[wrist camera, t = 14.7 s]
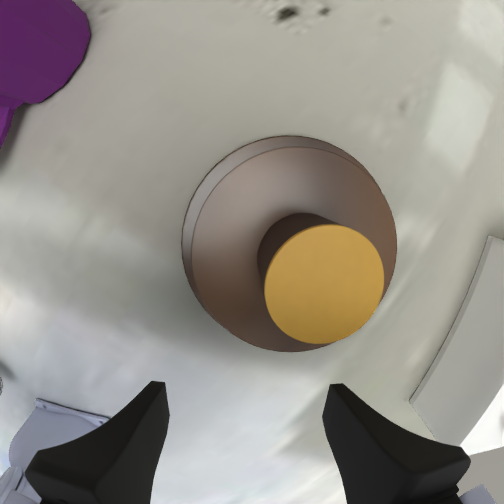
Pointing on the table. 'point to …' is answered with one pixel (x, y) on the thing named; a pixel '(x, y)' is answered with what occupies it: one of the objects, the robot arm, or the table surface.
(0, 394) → the cup
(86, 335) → the table surface
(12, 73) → the mug
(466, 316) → the butter dish
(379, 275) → the coffee pod
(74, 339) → the table surface
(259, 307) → the pod stand
